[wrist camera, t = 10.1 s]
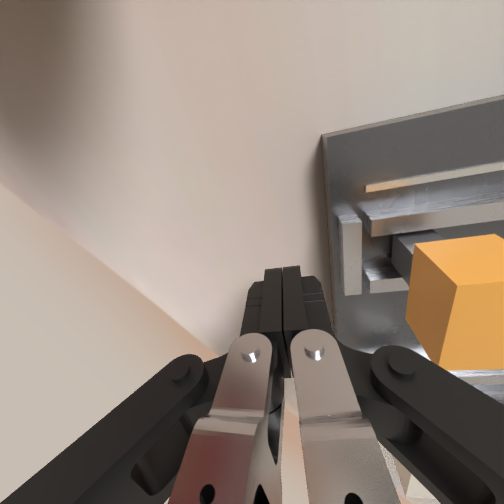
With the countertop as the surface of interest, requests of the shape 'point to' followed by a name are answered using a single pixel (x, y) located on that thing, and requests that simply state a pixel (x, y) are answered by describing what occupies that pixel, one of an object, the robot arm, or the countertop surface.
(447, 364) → the fader orange
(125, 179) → the countertop surface
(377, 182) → the console
